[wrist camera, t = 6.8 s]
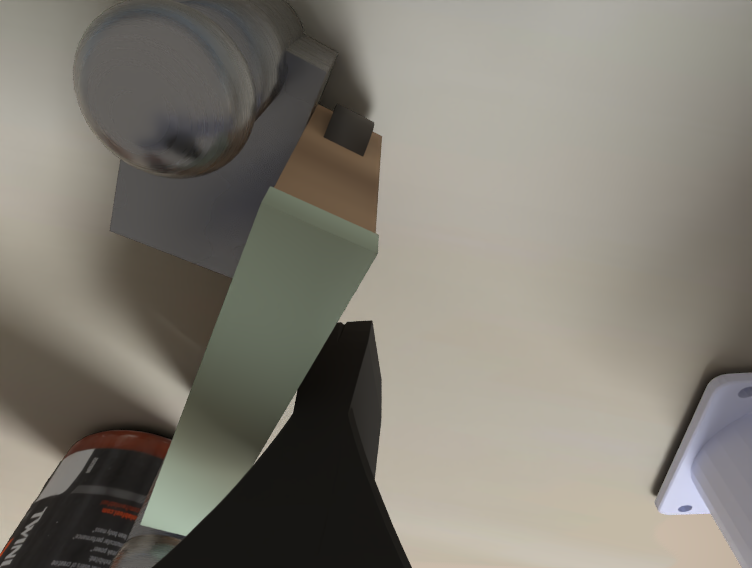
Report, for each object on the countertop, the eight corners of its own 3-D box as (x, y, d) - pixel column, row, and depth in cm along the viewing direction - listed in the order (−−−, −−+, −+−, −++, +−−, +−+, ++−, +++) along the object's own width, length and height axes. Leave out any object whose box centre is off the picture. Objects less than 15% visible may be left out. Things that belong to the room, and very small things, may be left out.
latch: (201, -55, 8) (-33, -75, 4) (348, 27, 9) (301, 95, 4) (150, 192, 11) (-14, 347, 7) (264, 239, 12) (185, 409, 7)
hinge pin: (245, 373, 15) (162, 606, 10) (263, 414, 16) (198, 641, 11) (183, 377, 15) (67, 607, 10) (205, 418, 16) (113, 642, 11)
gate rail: (323, 83, 9) (270, 174, 5) (392, 119, 10) (391, 230, 6) (210, 369, 14) (140, 525, 10) (257, 385, 15) (207, 541, 11)
